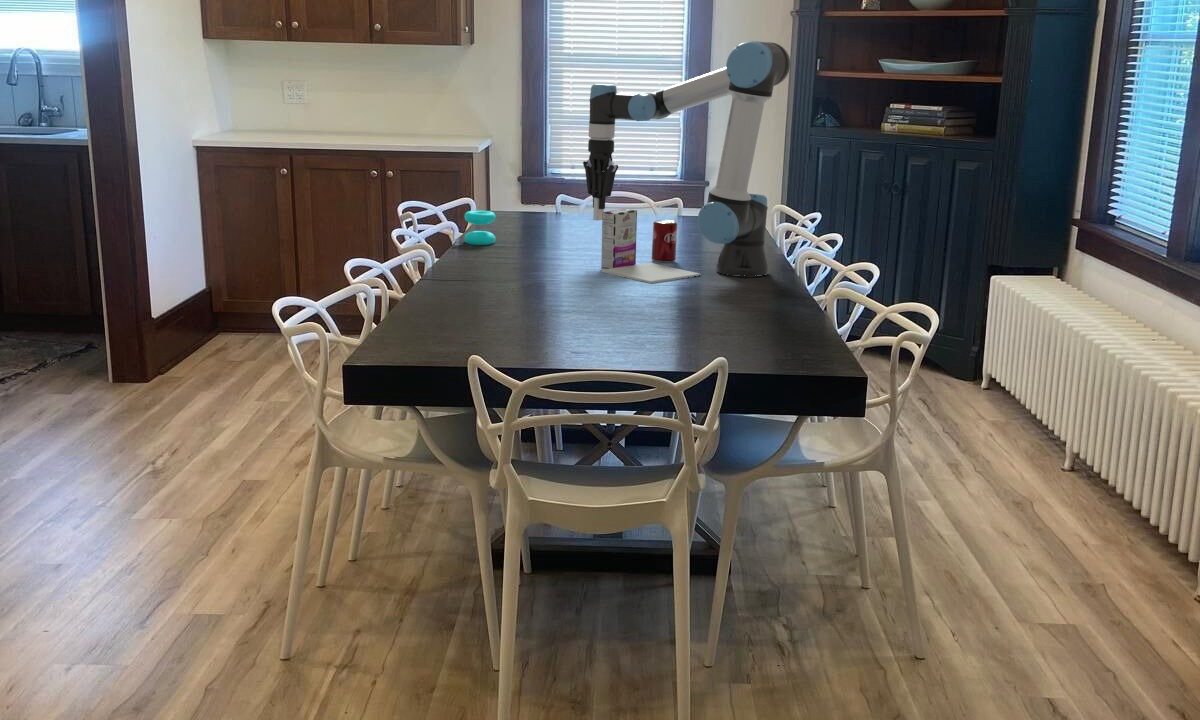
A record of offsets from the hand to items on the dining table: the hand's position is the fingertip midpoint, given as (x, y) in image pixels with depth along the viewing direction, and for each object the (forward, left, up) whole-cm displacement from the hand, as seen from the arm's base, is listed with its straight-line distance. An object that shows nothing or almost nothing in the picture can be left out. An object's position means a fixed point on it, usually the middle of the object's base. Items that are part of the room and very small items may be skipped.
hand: (598, 219), depth 331 cm
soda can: (-10, -18, -13) cm, 24 cm away
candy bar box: (-9, 0, -13) cm, 16 cm away
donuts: (+45, +10, -13) cm, 48 cm away
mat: (-23, 0, -13) cm, 26 cm away
